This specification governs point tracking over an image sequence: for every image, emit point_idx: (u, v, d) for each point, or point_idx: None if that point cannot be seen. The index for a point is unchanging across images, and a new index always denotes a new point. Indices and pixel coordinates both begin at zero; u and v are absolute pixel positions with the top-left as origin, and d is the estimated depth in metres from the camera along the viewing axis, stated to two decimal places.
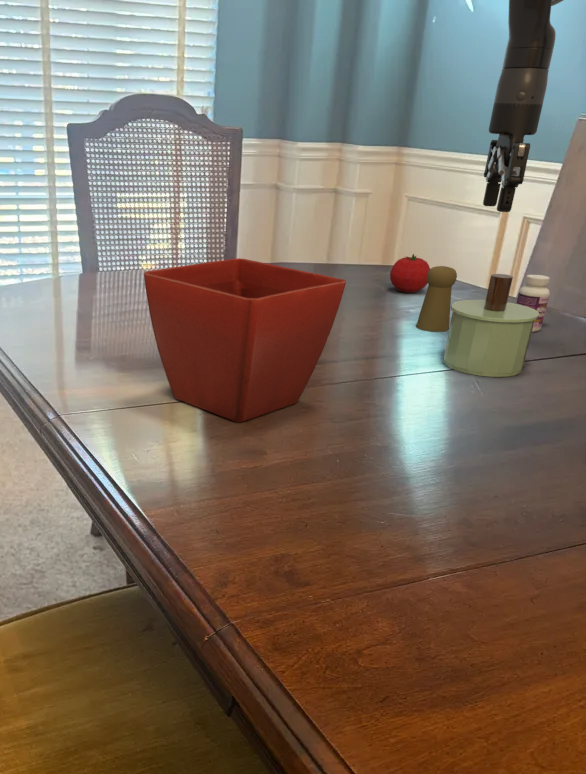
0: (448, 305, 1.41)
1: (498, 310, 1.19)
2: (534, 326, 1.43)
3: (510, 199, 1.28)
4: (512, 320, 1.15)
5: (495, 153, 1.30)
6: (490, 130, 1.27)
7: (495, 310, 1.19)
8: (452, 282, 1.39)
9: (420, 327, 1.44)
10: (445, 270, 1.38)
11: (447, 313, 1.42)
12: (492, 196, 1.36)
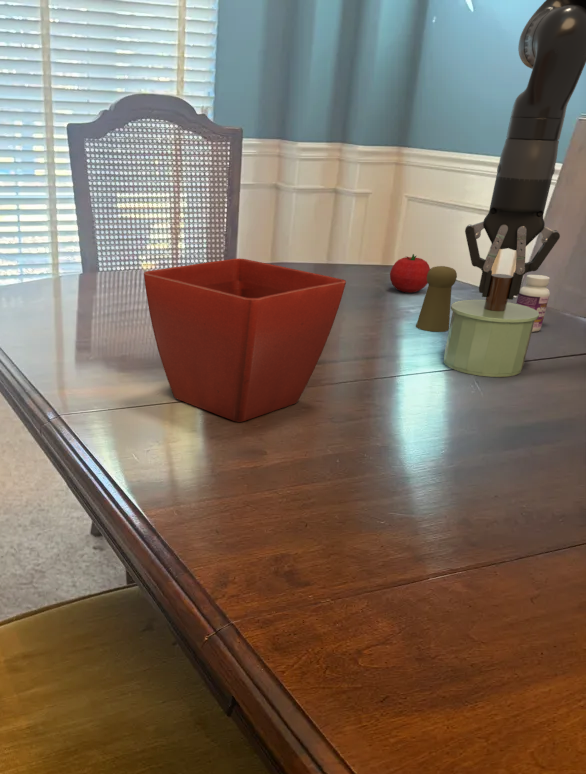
0: (448, 305, 1.41)
1: (498, 310, 1.19)
2: (534, 326, 1.43)
3: None
4: (512, 320, 1.15)
5: (507, 231, 1.13)
6: (520, 209, 1.10)
7: (495, 310, 1.19)
8: (452, 282, 1.39)
9: (420, 327, 1.44)
10: (445, 270, 1.38)
11: (447, 313, 1.42)
12: None
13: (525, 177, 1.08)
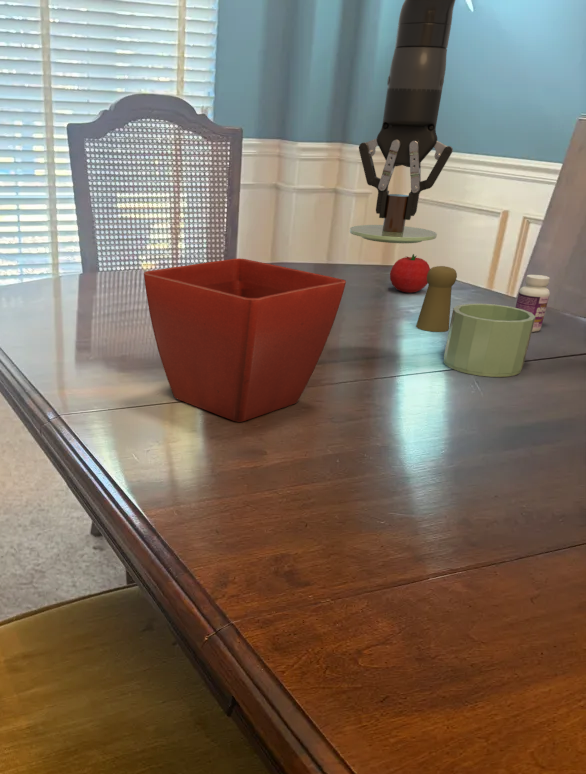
0: (448, 305, 1.41)
1: (395, 231, 1.16)
2: (534, 326, 1.43)
3: (417, 204, 1.15)
4: (406, 238, 1.12)
5: (399, 146, 1.11)
6: (409, 121, 1.07)
7: (392, 231, 1.16)
8: (452, 282, 1.39)
9: (420, 327, 1.44)
10: (445, 270, 1.38)
11: (447, 313, 1.42)
12: None
13: (412, 87, 1.05)
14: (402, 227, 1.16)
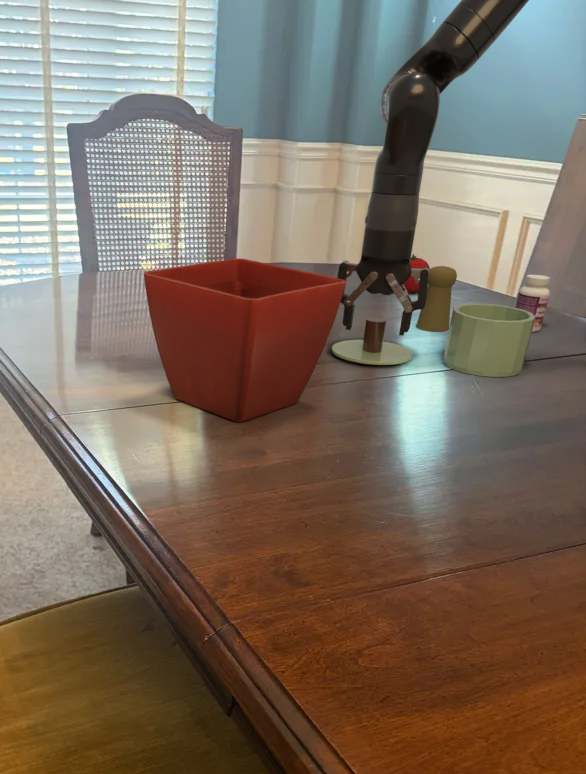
0: (448, 305, 1.41)
1: (374, 352, 1.25)
2: (534, 326, 1.43)
3: (410, 321, 1.23)
4: (383, 362, 1.21)
5: (375, 279, 1.20)
6: (385, 258, 1.16)
7: (371, 352, 1.25)
8: (452, 282, 1.39)
9: (420, 327, 1.44)
10: (445, 270, 1.38)
11: (447, 313, 1.42)
12: (352, 319, 1.26)
13: (387, 229, 1.14)
14: (380, 348, 1.25)
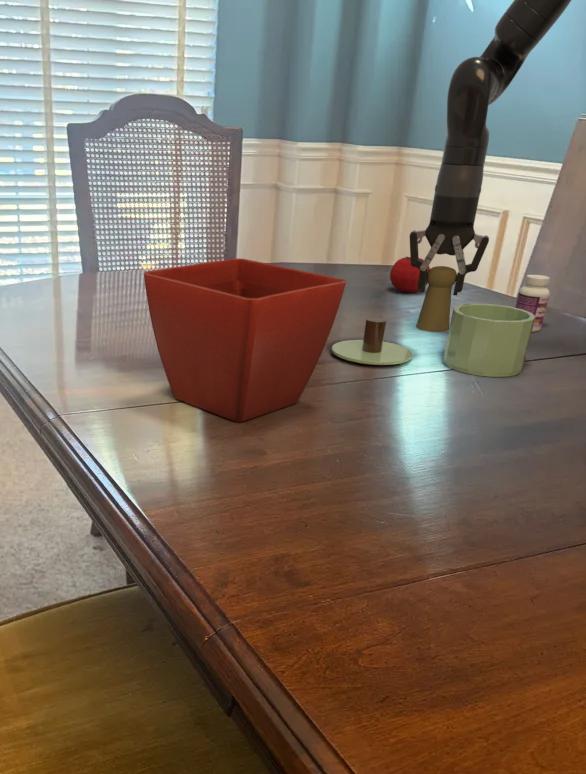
0: (448, 305, 1.41)
1: (374, 352, 1.25)
2: (534, 326, 1.43)
3: None
4: (383, 362, 1.21)
5: (443, 240, 1.36)
6: (453, 222, 1.33)
7: (371, 352, 1.25)
8: (452, 282, 1.39)
9: (420, 327, 1.44)
10: (445, 270, 1.38)
11: (447, 313, 1.42)
12: None
13: (456, 195, 1.31)
14: (380, 348, 1.25)
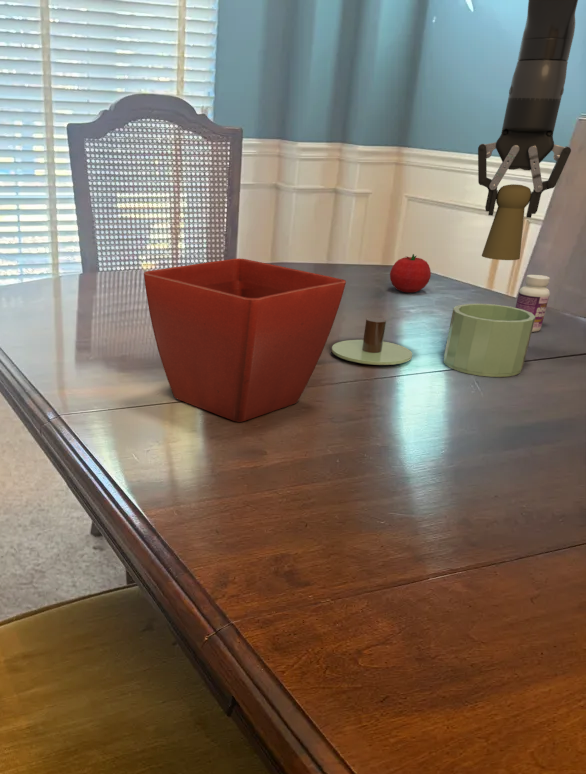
0: (520, 229, 1.25)
1: (374, 352, 1.25)
2: (534, 326, 1.43)
3: None
4: (383, 362, 1.21)
5: (517, 152, 1.20)
6: (531, 128, 1.16)
7: (371, 352, 1.25)
8: (526, 202, 1.22)
9: (487, 256, 1.27)
10: (519, 187, 1.22)
11: (519, 238, 1.25)
12: None
13: (536, 96, 1.14)
14: (380, 348, 1.25)
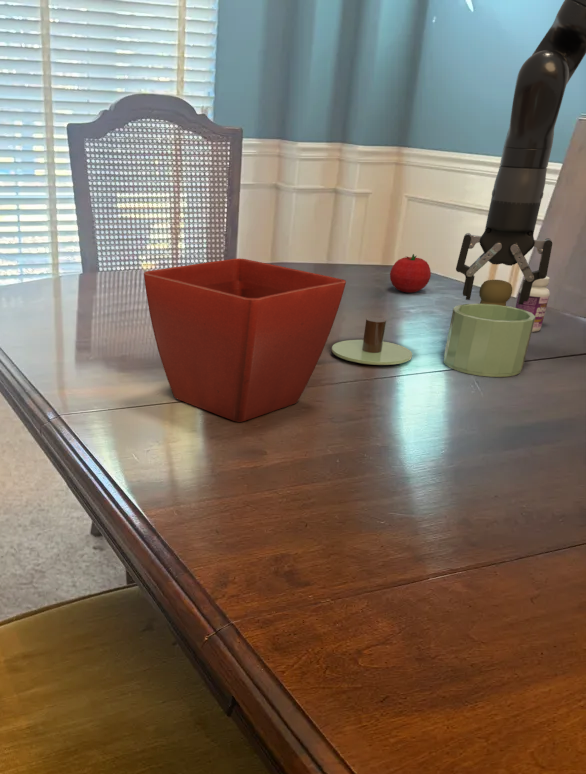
0: None
1: (374, 352, 1.25)
2: (534, 326, 1.43)
3: None
4: (383, 362, 1.21)
5: (499, 250, 1.26)
6: (512, 229, 1.22)
7: (371, 352, 1.25)
8: (507, 297, 1.29)
9: None
10: (500, 284, 1.28)
11: None
12: None
13: (517, 201, 1.20)
14: (380, 348, 1.25)
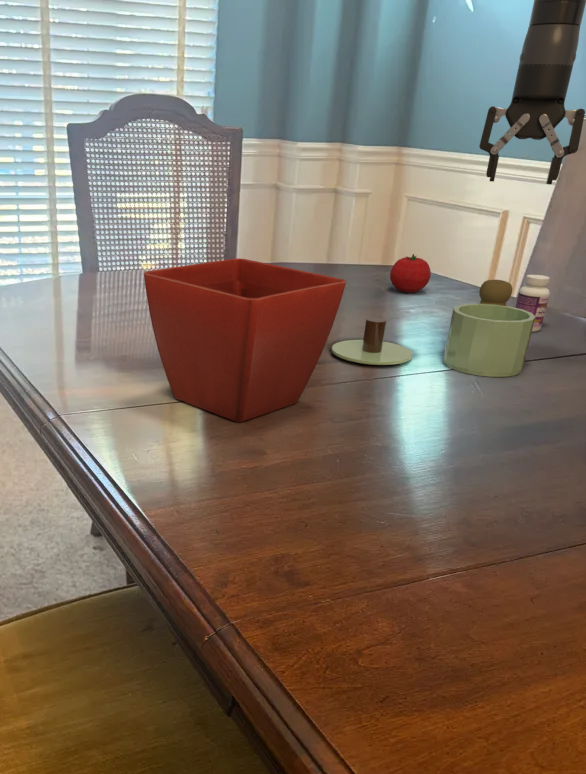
0: None
1: (374, 352, 1.25)
2: (534, 326, 1.43)
3: None
4: (383, 362, 1.21)
5: (527, 121, 1.17)
6: (542, 95, 1.13)
7: (371, 352, 1.25)
8: (507, 297, 1.29)
9: None
10: (500, 284, 1.28)
11: None
12: None
13: (547, 62, 1.11)
14: (380, 348, 1.25)
